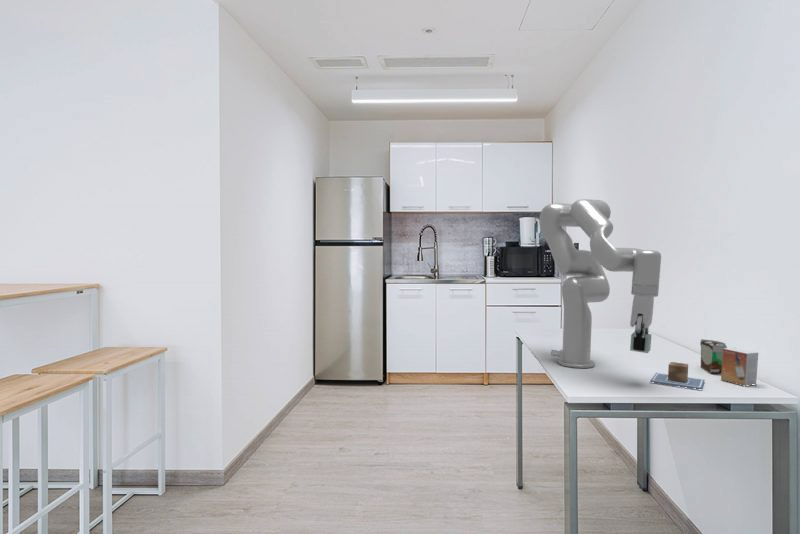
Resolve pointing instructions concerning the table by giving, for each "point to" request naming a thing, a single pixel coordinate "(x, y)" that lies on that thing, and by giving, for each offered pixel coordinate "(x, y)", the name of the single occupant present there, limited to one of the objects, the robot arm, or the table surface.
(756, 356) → the small box
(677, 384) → the board
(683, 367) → the walnut block
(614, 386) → the table surface
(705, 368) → the food container
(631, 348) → the sage block
